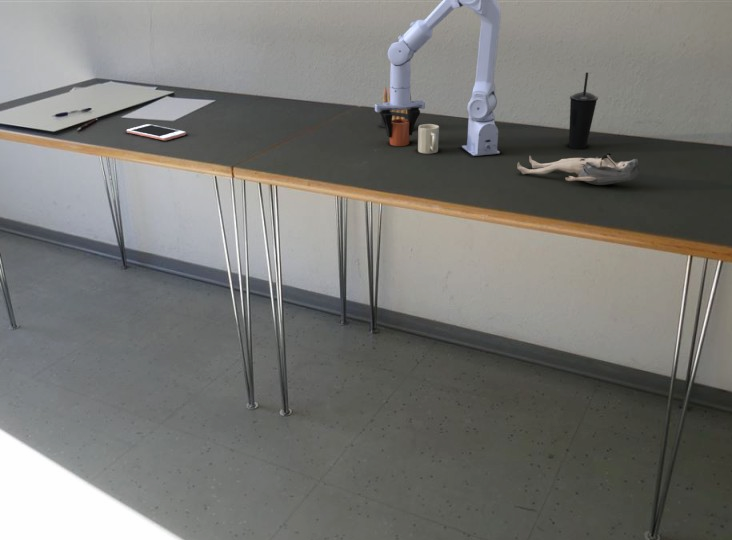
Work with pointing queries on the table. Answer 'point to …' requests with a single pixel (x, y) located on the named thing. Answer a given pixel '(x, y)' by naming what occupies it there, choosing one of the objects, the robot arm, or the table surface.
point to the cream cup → (428, 138)
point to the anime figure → (589, 169)
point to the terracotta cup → (400, 132)
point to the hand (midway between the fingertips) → (399, 135)
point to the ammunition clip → (396, 113)
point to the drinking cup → (581, 117)
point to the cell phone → (156, 132)
